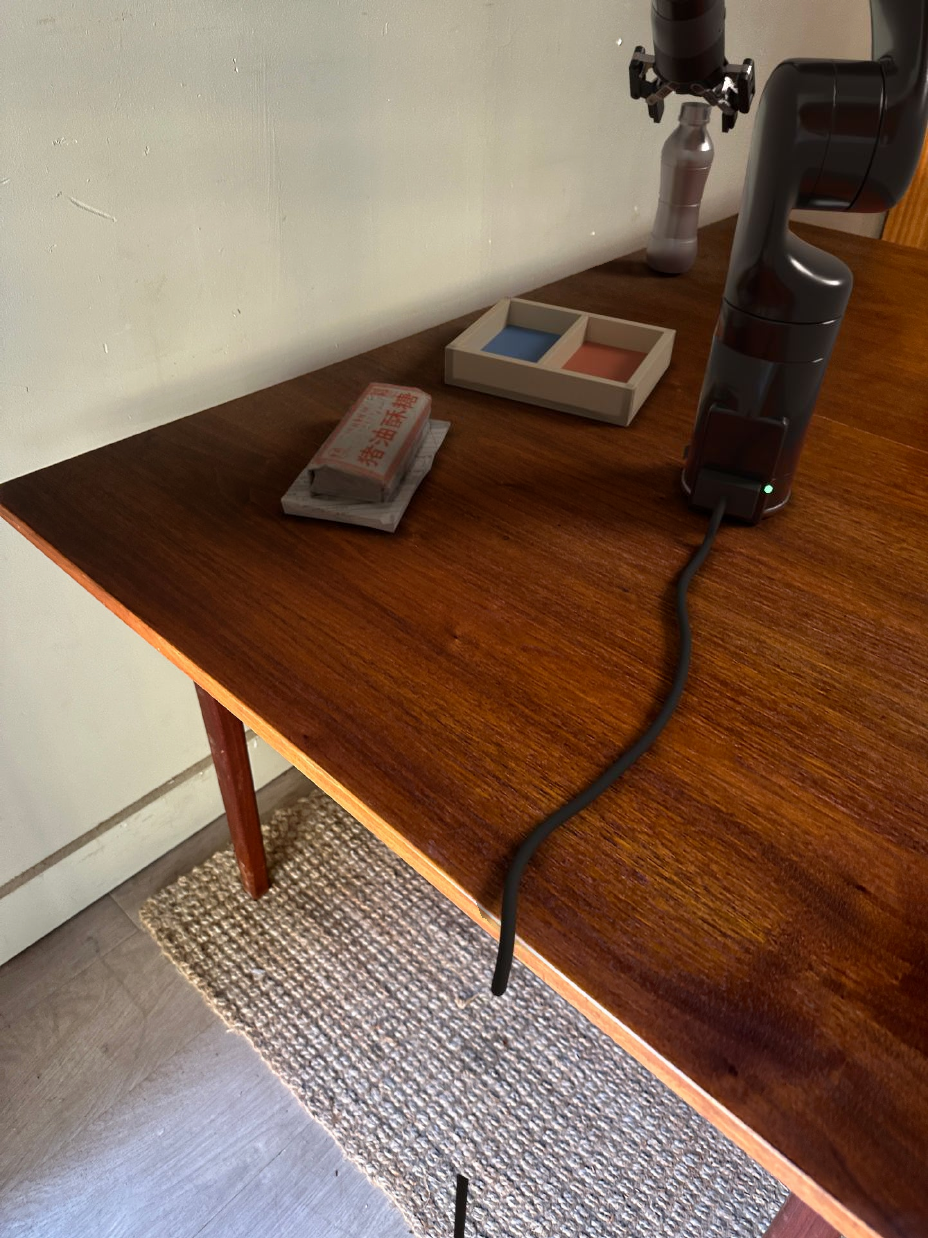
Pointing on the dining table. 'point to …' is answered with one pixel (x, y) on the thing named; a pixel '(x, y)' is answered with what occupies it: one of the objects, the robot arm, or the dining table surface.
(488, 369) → the sorting tray
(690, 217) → the plastic bottle
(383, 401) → the packaged product
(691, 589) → the dining table surface
